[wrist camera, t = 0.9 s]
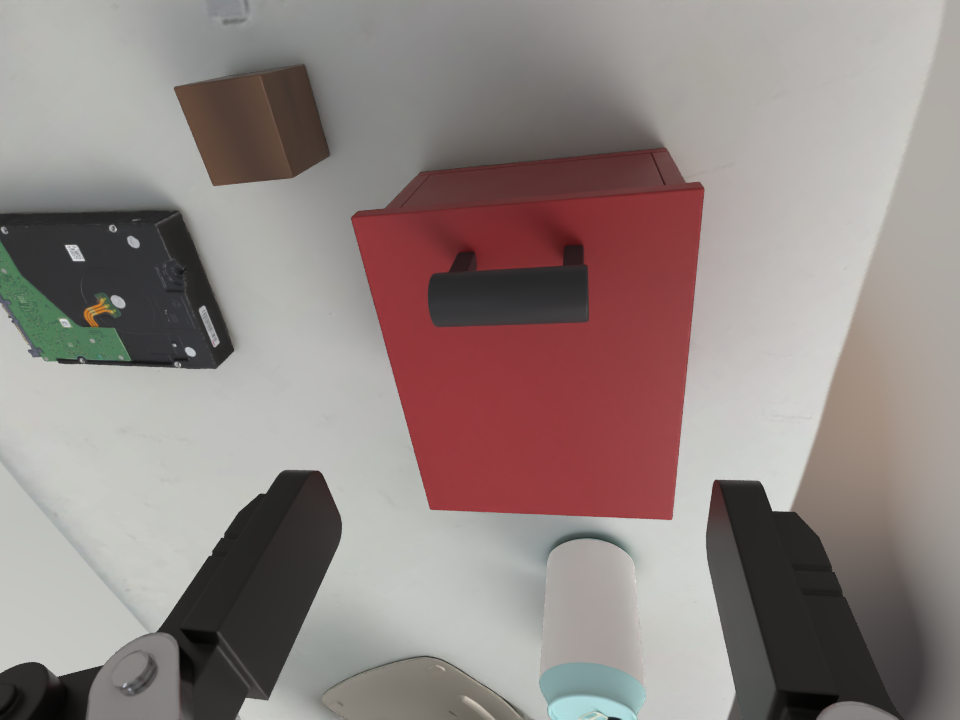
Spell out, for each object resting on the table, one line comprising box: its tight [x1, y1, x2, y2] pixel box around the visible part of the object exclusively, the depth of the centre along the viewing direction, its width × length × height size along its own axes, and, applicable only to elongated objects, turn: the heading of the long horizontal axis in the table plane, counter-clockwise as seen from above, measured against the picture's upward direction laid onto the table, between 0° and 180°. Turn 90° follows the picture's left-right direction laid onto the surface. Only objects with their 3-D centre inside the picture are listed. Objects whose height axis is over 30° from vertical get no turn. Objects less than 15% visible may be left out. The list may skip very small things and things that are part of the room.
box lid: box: [351, 182, 704, 520], centre depth 22 cm, size 16×13×5 cm
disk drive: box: [0, 211, 234, 369], centre depth 35 cm, size 10×3×15 cm
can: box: [539, 538, 646, 720], centre depth 39 cm, size 7×7×12 cm
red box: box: [385, 148, 686, 209], centre depth 27 cm, size 16×13×9 cm
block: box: [174, 64, 329, 186], centre depth 26 cm, size 4×4×4 cm
